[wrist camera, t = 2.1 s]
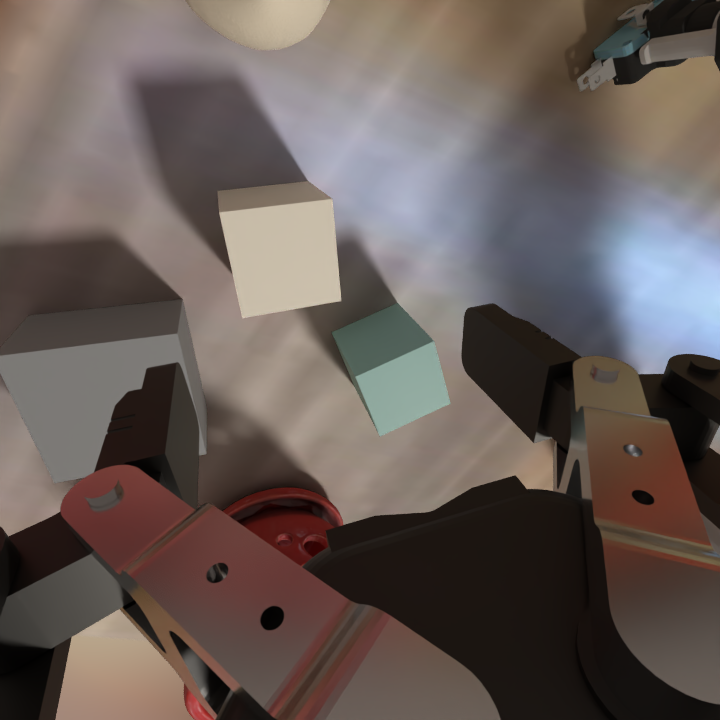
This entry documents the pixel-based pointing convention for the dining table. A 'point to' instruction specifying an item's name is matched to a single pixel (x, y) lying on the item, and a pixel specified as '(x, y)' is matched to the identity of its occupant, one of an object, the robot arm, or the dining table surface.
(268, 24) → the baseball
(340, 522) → the plant pot
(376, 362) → the teal block
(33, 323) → the slate base block
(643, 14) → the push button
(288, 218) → the cream block
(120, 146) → the dining table surface
